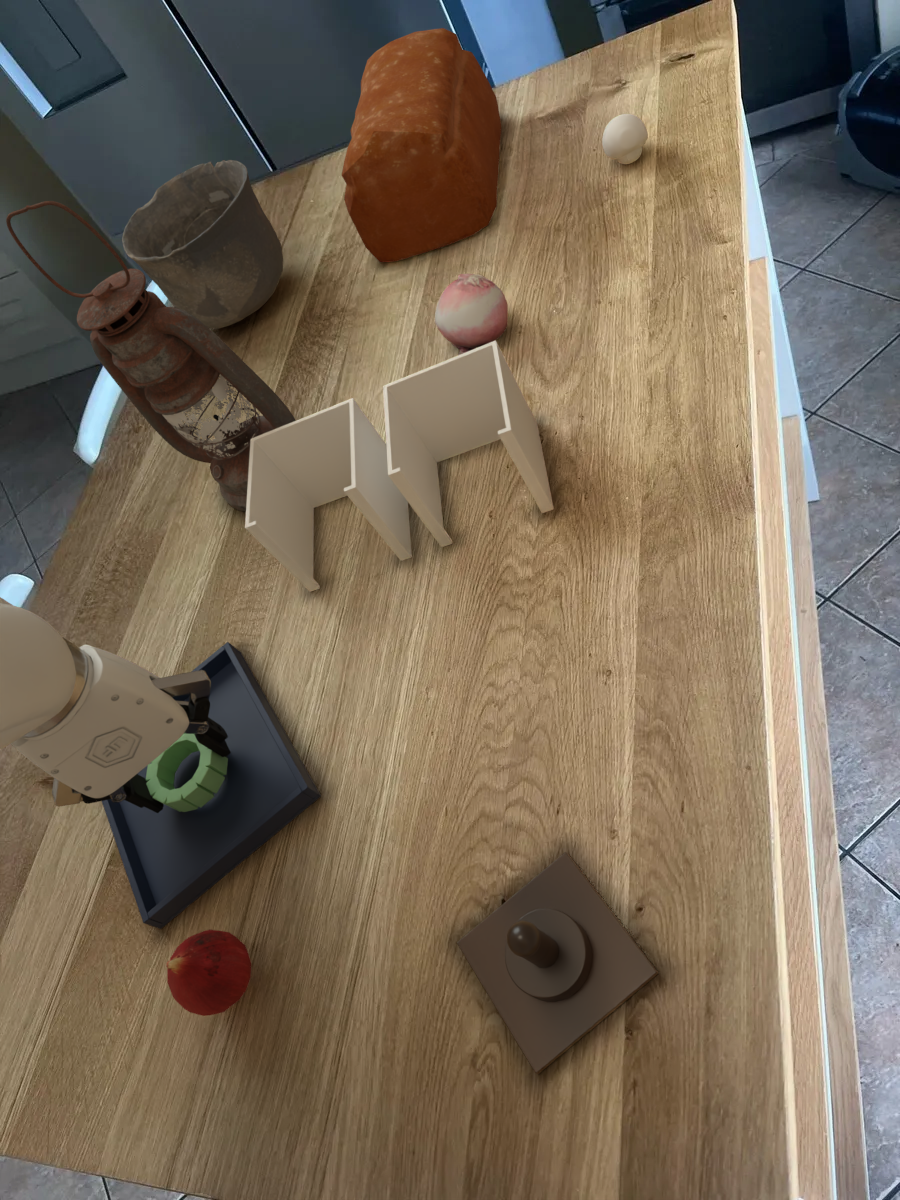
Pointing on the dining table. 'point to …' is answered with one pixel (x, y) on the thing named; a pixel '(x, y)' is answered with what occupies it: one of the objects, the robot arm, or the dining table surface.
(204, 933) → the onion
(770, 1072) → the dining table surface
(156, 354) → the lantern
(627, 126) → the mushroom
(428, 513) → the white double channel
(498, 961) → the stand
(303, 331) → the dining table surface
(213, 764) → the ring
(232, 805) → the tray
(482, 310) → the onion
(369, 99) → the bread
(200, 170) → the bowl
